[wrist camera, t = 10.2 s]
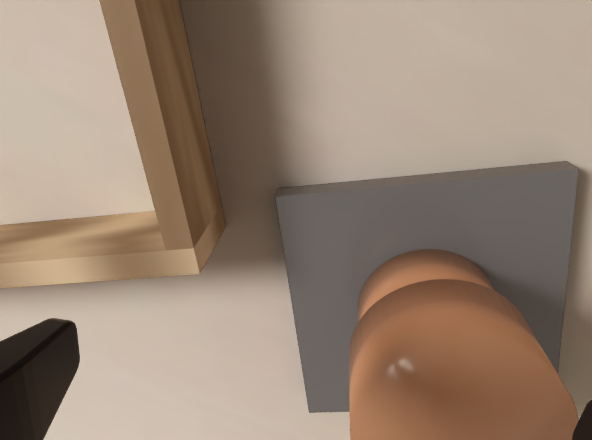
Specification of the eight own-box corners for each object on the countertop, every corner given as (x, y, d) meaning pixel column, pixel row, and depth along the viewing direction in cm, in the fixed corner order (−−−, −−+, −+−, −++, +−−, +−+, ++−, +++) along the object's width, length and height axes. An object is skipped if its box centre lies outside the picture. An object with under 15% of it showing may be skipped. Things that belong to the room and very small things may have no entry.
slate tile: (566, 161, 18) (578, 169, 17) (545, 389, 22) (554, 405, 21) (278, 188, 19) (275, 196, 18) (310, 397, 23) (309, 412, 23)
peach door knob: (433, 208, 18) (479, 304, 12) (538, 311, 19) (626, 443, 13) (316, 306, 20) (305, 429, 14) (418, 393, 22) (446, 537, 16)
